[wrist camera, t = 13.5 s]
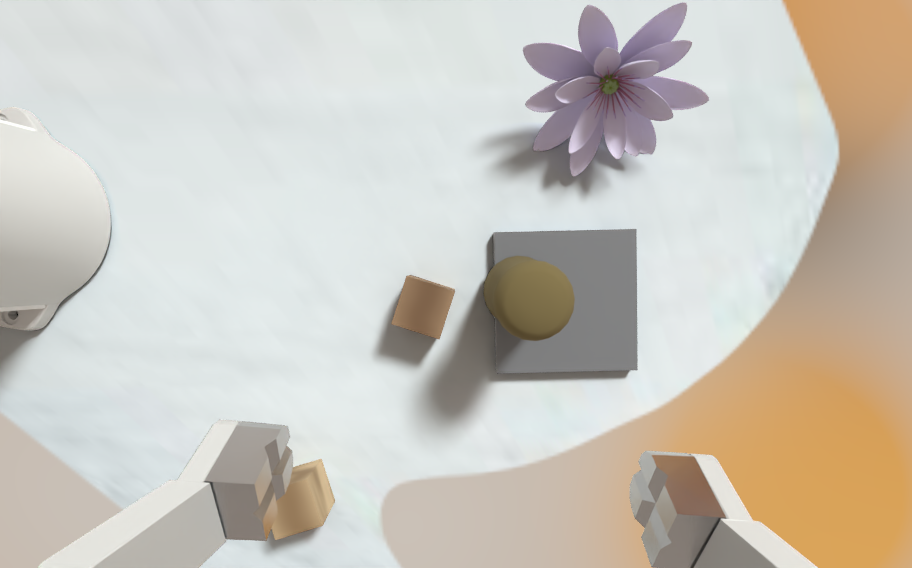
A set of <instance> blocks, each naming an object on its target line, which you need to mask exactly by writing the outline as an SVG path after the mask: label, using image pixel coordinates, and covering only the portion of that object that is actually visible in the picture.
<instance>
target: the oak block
mask: <svg viewBox="0 0 912 568" xmlns="http://www.w3.org/2000/svg"><path fill="white" fill-rule="evenodd" d="M334 502H335V499H334V496H333V493H332V490H331V487H330V484H329V481H328V478H327V474H326V471H325V468H324V465H323V462H322V459H319V460H316V461H312V462H309V463H306V464H302V465H299V466H296V467H293V469H292V473H291V478H290V482H289V485H288V488H287V490H286V493H285V494H284V495H283V496H282V497H280V498H279V499H278V500H277V501H276V503H277V510H278V513H277V516H276V518H275V520H274V523H273V525H272V528H271V529H272V532H273V535H274V538H275V540H278V539H281V538H284V537H287V536H291V535H294V534H297V533H301V532H304V531H307V530H311V529H314V528H317V527H320V526H323V524H324V522H325V520H326V518H327V516H328V514H329V512H330V510H331V508H332V506H333V504H334Z"/></svg>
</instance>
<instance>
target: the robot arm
mask: <svg viewBox="0 0 912 568" xmlns="http://www.w3.org/2000/svg"><path fill="white" fill-rule="evenodd" d="M110 231H111V215H110V208H109V203H108V199H107V196H106V193H105V191H104V188H103V186H102V184H101V182H100V180H99V179H98V177H97V175H96V174H95V172H94V171H93V170H92V168H91V167H90V166H89V165H88V164H87V163H86V162H85V161H84V160H83V159H82V158H81V157H80V156H79V155H77V154H76V153H75V152H73V151H72V150H70V149H69V148H67V147H66V146H64V145H62V144H61V143H59V142H58V141H56V140H55V139H54V138H53V137H51V136H50V134H49V133H48V131H47V130H46V129H45V127H44V126H43V124H42V123H41V122H40V120H39V119H38V118H37V117H36V116H35V115H34V114H33V113H32V112H30V111H28V110H24V109H20V108H16V107H9V108H5V109H0V326H1V327H7V328H12V329H18V330H39V329H41V328H43V327H44V326H45V325H47V323H48V322H49V321H50V319H51V318H52V316H53V315H54V313H55V311H56V310H57V308H58V306H59V304H60V303H61V302H62V301H63V300H64V299H65V298H66V297H68V296H69V295H70V294H72V293H73V292H75V291H76V290H77V289H79V288H80V287H81V286H83V285H84V284H85V283H86V282H87V281H88V280H89V279H90V278H91V277H92V275H93V274H94V273H95V271H96V270H97V268H98V267H99V265H100V264H101V262H102V260H103V258H104V255H105V253H106V250H107V247H108V243H109V238H110ZM16 312H18V317H17V315H16ZM289 438H290V434H289V429H288V426H285V425H276V424H266V423H256V422H245V421H232V420H221V419H220V420H218V421H217V422H216V423H214V424H213V425H212V427H211V428H210V430H209V431H208V433H207V435H206V436H205V438H204V439H203V441H202V442H201V444H200V445H199V447H198V448H197V450H196V451H195V453H194V454H193V456H192V457H191V459H190V461H189V462H188V464H187V465H186V467H185V468H184V470H183V471H182V473H181V474H180V476H179V477H178V479H177V480H169V481H167V482H166V483H164V484H163V485H161V486H159V487H158V488H156V489H155V490H153V491H152V492H150V493H149V494H147V495H146V496H144V497H142V498H141V499H139V500H138V501H136V502H135V503H133V504H132V505H130V506H128V507H127V508H125V509H124V510H122V511H121V512H119V513H118V514H116V515H115V516H113V517H112V518H110V519H108V520H107V521H105V522H104V523H102V524H101V525H99V526H98V527H96V528H95V529H93V530H91V531H90V532H88V533H87V534H85V535H84V536H82V537H80V538H79V539H78V540H76V541H74V542H73V543H71V544H70V545H68V546H67V547H65V548H63V549H62V550H60V551H59V552H57V553H56V554H54V555H53V556H51V557H50V558H48V559H46V560H45V561H43V562H42V563H41V564H40V565H39V567H38V568H199V567H200V566H201V565H202V564H203V563H204V562H205V561H206V560H207V559H209V558H210V557H211V556H212V555H213V554H214V553H215V552H216V551H217V550H218V549H219V548H220V547H221V546H222V545H223V544H224V543H225V542H226V539H234V540H259V541H266V540H267V538H268V535H269V533H270V530H271V528H272V525H273V523H274V520H275V518H276V516H277V513H278V510H277V503H276V501H277V500H278V499H279V498H280V497H282V496H283V495H284V494H285V493H286V490H287V488H288V485H289V482H290V478H291V473H292V469H293V455H292V450H291V449H290V448H289V447H287V446H286V445H287V443H288V441H289ZM639 464H640V467H641V470H640V471H639V472H637V473H636V474H634V475H633V478H632V481H631V484H630V502H631V508H632V511H633V514H634V517H635V519H636V520H637V521H638V522H639V523H640V524H641V525H642V526H643V527H644V528H645V529H644V532H643V534H642V537H641V538H642V541H643V544H644V547H645V549H646V552H647V555H648V558H649V561H650V564H651V567H654V568H818V567H816V566H815V565H814V564H813V563H811V562H810V561H809V560H808V559H806V558H805V557H804V556H802V555H801V554H800V553H799V552H798V551H796V550H795V549H794V548H793V547H791V546H790V545H789V544H788V543H786V542H785V541H784V540H783V539H781V538H780V537H779V536H777V535H776V534H775V533H774V532H773V531H771V530H770V529H769V528H767V527H766V526H765V525H764V524H762V523H761V522H759V521H753V520H752V518H751V516H750V515H749V513H748V511H747V510H746V508H745V506H744V504H743V503H742V501H741V499H740V498H739V496H738V494H737V493H736V491H735V489H734V487H733V486H732V484H731V482H730V481H729V479H728V477H727V476H726V474H725V472H724V470H723V469H722V467H721V465H720V464H719V462H718V460H717V459H716V458H715V457H714V456H712V455H701V454H687V453H673V452H657V451H645V452H644V453H643V454H642V455H641V457H640V459H639Z"/></svg>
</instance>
